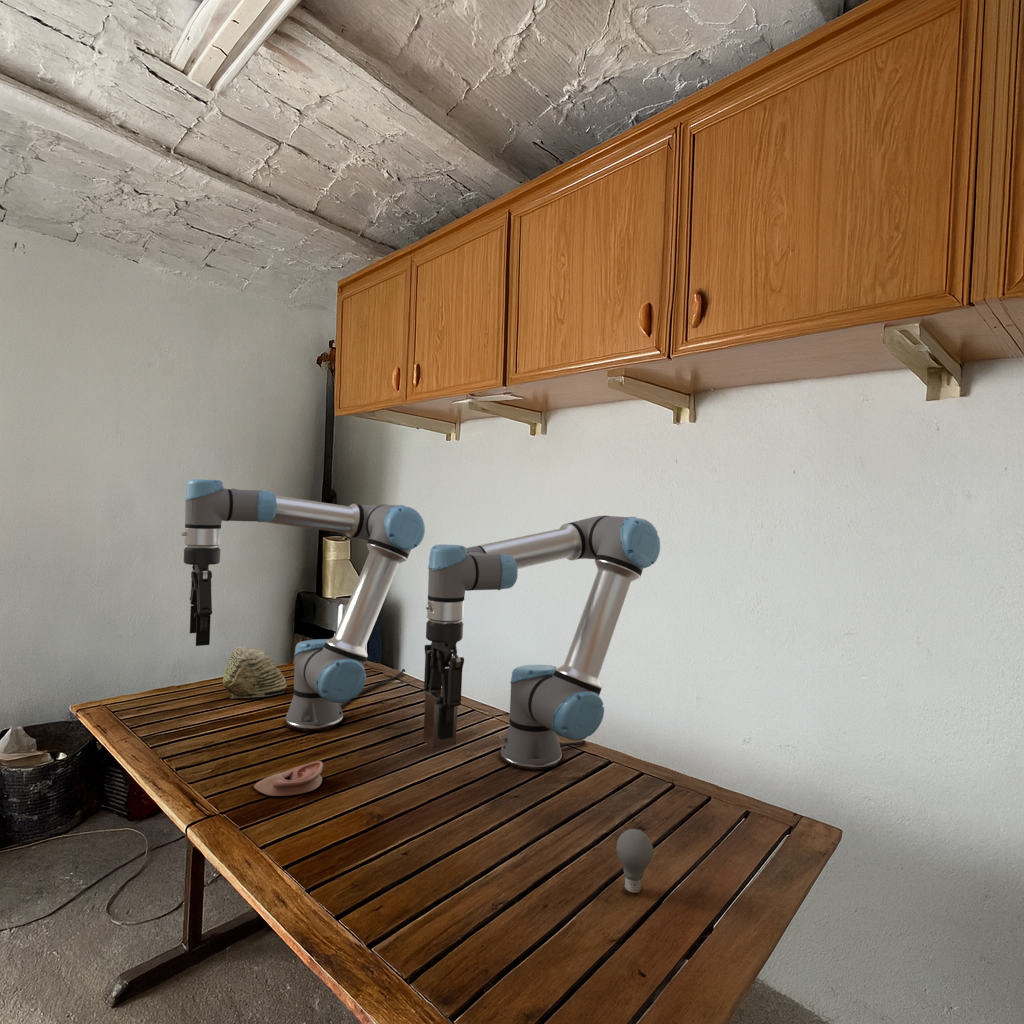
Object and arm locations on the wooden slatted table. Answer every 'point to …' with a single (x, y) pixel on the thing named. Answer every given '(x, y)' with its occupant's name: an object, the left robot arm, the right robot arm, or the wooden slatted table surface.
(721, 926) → the wooden slatted table surface
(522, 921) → the wooden slatted table surface
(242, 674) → the fossil
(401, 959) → the wooden slatted table surface
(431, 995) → the wooden slatted table surface
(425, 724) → the block
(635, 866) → the light bulb
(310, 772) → the anatomical model
